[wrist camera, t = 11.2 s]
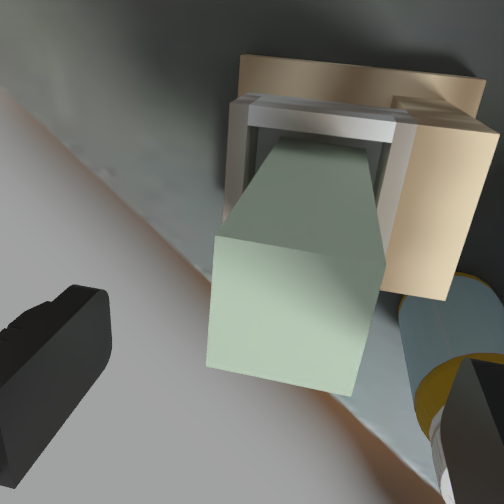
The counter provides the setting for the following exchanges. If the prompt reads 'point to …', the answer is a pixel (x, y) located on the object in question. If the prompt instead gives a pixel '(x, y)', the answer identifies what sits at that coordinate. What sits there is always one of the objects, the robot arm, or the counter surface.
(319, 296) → the rail post
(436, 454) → the bottle
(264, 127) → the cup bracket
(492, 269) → the counter surface
